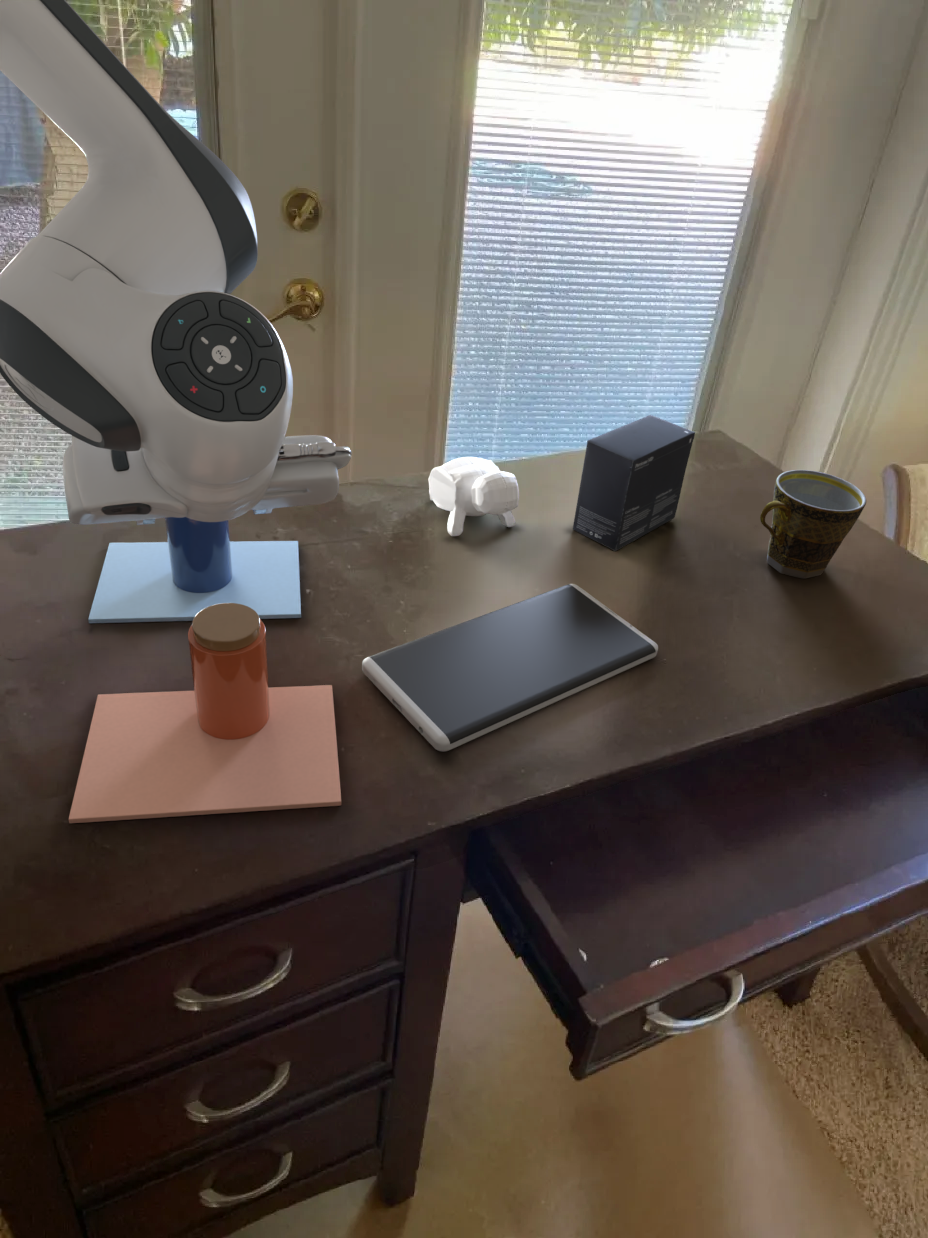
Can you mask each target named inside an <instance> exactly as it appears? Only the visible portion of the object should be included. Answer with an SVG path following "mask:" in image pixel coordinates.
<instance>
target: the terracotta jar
mask: <svg viewBox="0 0 928 1238" xmlns="http://www.w3.org/2000/svg"><path fill="white" fill-rule="evenodd" d="M265 625H266V624H264V622H263V621H262V619H260V618H259V615H258V614H257V613H256V611H254V610H253V609H252V608H250V607H248V606H245V605H242V604H237V603H221V604H216V605H212V606H209V607H207V608H205V609H203V610H201V611H200V612H199V613H198V614H197V615H196V616H195V617H194V619H193V621H191V625H190V627H189V628H188V631H187V641H188V648H189V658H190V666H191V675H192V684H193V691H194V694H195V702H196V711H197V720H198V724H199V726H200V727H201V729H202V730H203V731H204V732H205V733H207V734H208V735H210V736H213V737H215V738H219V739H226V740H234V739H241V738H245V737H248V736H251V735H253V734H255V733H257V732H258V731H260V730H261V729H262V728H263V727H264V726H265V725H266V723H267V721H268V720H269V716H270V707H269V688H270V687H269V671H268V670H269V669H268V648H267V629H266V626H265Z"/></svg>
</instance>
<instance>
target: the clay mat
mask: <svg viewBox="0 0 928 1238" xmlns="http://www.w3.org/2000/svg"><path fill="white" fill-rule="evenodd" d="M333 692H334V690H333V684H325V685H324V684H323V685H322V684H321V685H305V686H304V685H300V686H299V685H298V686H275V687H273V686H272V687H269V707H270V716H269V720H268V721H267V723H266V725H265V726H264V727H263V728H262V729H261V730H260V731H258V732H257V733H255V734H253V735H251V736H248V737H245V738H241V739H234V740H226V739H219V738H215V737H213V736H210V735H208V734H207V733H205V732H204V731H203V730H202V729H201V727H200V726H199V724H198V720H197V711H196V702H195V694H194V690H177V691H176V690H175V691H174V690H173V691H153V692H150V691H149V692H128V693H127V692H126V693H103V694H101V693H100V694H97V697H96V701H95V706H94V709H93V714H92V718H91V721H90V727H89V731H88V736H87V739H86V743H85V746H84V747H85V748H84V752H83V756H82V760H81V765H80V768H79V773H78V778H77V781H76V786H75V790H74V794H73V798H72V803H71V806H70V811H69V816H68V823H69V824H83V823H85V824H86V823H95V822H96V823H99V822H113V821H127V820H128V821H129V820H145V819H159V818H172V817H173V818H174V817H175V818H176V817H188V816H205V815H217V814H218V815H219V814H234V813H248V812H249V813H250V812H263V811H264V812H265V811H278V810H279V811H280V810H295V809H296V810H297V809H308V808H310V809H311V808H323V807H338V806H342V793H341V791H342V790H341V778H340V767H339V756H338V755H339V754H338V741H337V728H336V716H335V704H334V703H335V702H334V693H333Z"/></svg>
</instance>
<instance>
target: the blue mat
mask: <svg viewBox="0 0 928 1238" xmlns="http://www.w3.org/2000/svg"><path fill="white" fill-rule="evenodd" d="M230 549H231V563H232V579H231V581H230V582H229V584H228V585H226V586H225V587H223V588H221V589H219V590H216V591H213V592H208V593H192V592H187V591H184V590H181V589H180V588H178V587H177V586H176V585H175V584H174V583H173V580H172V572H171V564H170V556H169V548H168V541H158V542H157V541H152V542H151V541H150V542H149V541H148V542H147V541H145V542H144V541H143V542H141V541H140V542H138V541H137V542H109V544H108V547H107V550H106V555H105V558H104V561H103V565H102V569H101V572H100V576H99V579H98V583H97V586H96V591H95V594H94V597H93V601H92V604H91V607H90V608H91V609H90V611H89V616H88V619H87V620H88V624H115V623H116V624H117V623H118V624H119V623H156V622H160V623H161V622H193V619H194V617H195V616H196V615H197V614H198V613H199V612H200V611H201V610H203V609H205V608H207V607H209V606H212V605H216V604H221V603H237V604H242V605H245V606H248V607H250V608H252V609H253V610H254V611H256V613H257V614H258V615H259V618H260V620H269V619H270V620H271V619H301V618H302V607H301V605H302V603H301V601H302V600H301V582H300V580H301V578H300V577H301V576H300V556H299V540H259V541H257V540H255V541H253V540H252V541H251V540H250V541H230Z"/></svg>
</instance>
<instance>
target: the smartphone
mask: <svg viewBox="0 0 928 1238" xmlns="http://www.w3.org/2000/svg"><path fill="white" fill-rule="evenodd" d="M658 652H659V645H658V644H657V642H656V641H654V640H652V639H651V638H650V637H648V636H647V635H646V634H644V633H643V632H642V631H640V629H637V628H636V627H635V626H633V625H632V624H631V623H629V622H628V621H626V620H625V619H624V618H622V617H621V616H620V615H618V614H617V613H615V612H614V611H613V610H612V609H610V608H609V607H608V606H607V605H605V604H604V603H602V602H601V601H600V600H598V599H597V598H595V597H594V596H593V595H591V594H590V593H588V592H587V591H586V590H585V589H583V588H581V587H580V586H579V585H577V584H575V583H568V584H565V585H561V586H560V587H557V588H554V589H551V590H548V591H546V592H543V593H540V594H537V595H534V596H532V597H529V598H525V599H523V600H521V601H518V602H515V603H512V604H510V605H507V606H504V607H502V608H498V609H496V610H493V611H490V612H488V613H485V614H482V615H479V616H477V617H474V618H471V619H468V620H466V621H463V622H461V623H457V624H455V625H452V626H450V627H447V628H444V629H441V630H438V631H436V632H433V633H429V634H428V635H425V636H421V637H419V638H416V639H414V640H411V641H407V642H405V643H403V644H399V645H397V646H394V647H392V648H388V649H386V650H383V651H380V652H377V653H375V654H372V655H369V656H367V657H365V658H364V659H363V660H362V662H361V671H362V673H363V674H364V675H365V676H366V677H367V678H368V680H369V681H370V682H371V683H372V685H374V686H375V687H376V688H377V689H378V690H379V691H380V693H382V695H384V696H385V698H386V699H387V700H388V701H389V702H390V703H391V704H392V705H393V706H394V707H395V708H396V709H397V710H398V711H399V712H400V713H401V714H402V715H403V717H405V719H406V720H407V721H408V722H409V723H410V724H411V725H412V726H413V728H415V729H416V730H417V731H418V733H420V735H421V736H422V737H423V738H424V739H425V740H426V741H427V742H428V743H429V744H430V745H431V746H432V747H433V748H434V749H435V750H437V751H438V752H448V751H451V750H454V749H456V748H457V747H460V746H462V745H464V744H466V743H468V742H471V741H473V740H476V739H477V738H480V737H482V736H484V735H486V734H488V733H490V732H493V731H494V730H497V729H499V728H501V727H504V726H506V725H507V724H511V723H512V722H515V721H517V720H519V719H522V718H523V717H525V716H528V715H531V714H532V713H535V712H537V711H539V710H541V709H543V708H545V707H547V706H550V705H553V704H554V703H557V702H558V701H561V700H563V699H566V698H568V697H570V696H572V695H575V694H576V693H579V692H581V691H583V690H586V689H588V688H589V687H592V686H594V685H596V684H599V683H601V682H603V681H605V680H607V679H609V678H612V677H614V676H616V675H618V674H621V673H623V672H625V671H628V670H629V669H631V668H634V667H636V666H639V665H641V664H643V663H645V662H647V661H649V660H651V659H654V658H656V656H657V655H658Z"/></svg>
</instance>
